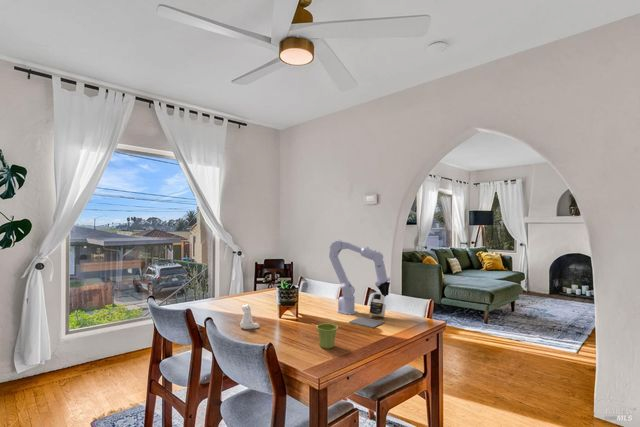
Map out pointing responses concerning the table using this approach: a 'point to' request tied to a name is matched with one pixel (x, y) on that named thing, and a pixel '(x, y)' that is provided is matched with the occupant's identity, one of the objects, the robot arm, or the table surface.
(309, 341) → the table surface
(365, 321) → the mat
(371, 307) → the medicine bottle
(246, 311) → the white creature statuette
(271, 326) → the table surface
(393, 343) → the table surface
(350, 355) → the table surface
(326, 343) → the plant pot
